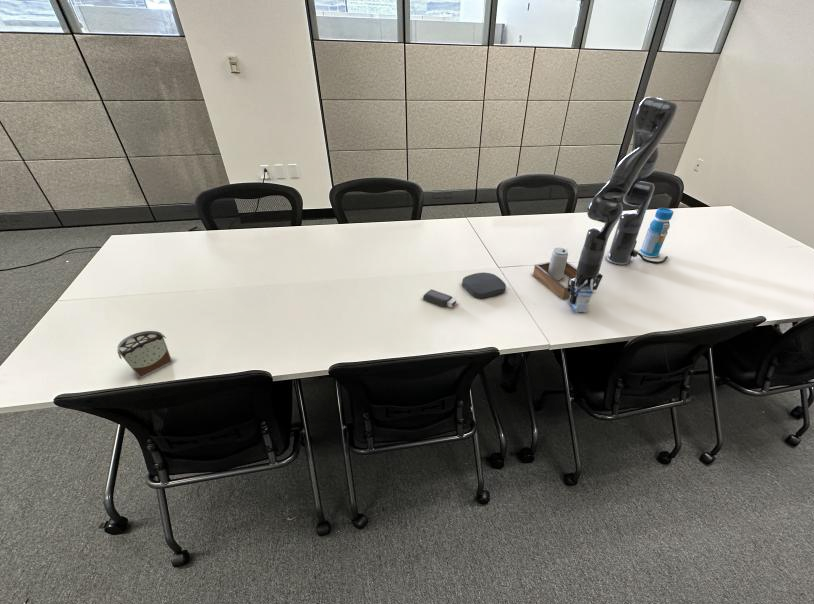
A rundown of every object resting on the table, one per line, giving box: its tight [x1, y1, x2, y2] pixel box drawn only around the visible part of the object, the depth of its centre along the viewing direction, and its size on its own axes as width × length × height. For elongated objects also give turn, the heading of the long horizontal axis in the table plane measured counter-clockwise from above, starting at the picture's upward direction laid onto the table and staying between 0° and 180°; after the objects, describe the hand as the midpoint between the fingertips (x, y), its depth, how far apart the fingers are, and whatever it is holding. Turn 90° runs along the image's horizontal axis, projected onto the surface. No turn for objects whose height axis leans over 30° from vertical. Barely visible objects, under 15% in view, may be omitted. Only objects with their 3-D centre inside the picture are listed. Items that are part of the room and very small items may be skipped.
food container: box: [116, 330, 173, 379], centre depth 119 cm, size 12×6×10 cm, turn 145°
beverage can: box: [548, 247, 569, 281], centre depth 169 cm, size 6×6×12 cm
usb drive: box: [422, 289, 457, 308], centre depth 155 cm, size 5×12×3 cm, turn 59°
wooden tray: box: [532, 261, 577, 300], centre depth 168 cm, size 15×21×5 cm
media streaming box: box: [461, 272, 507, 299], centre depth 163 cm, size 15×15×3 cm
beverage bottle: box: [639, 207, 674, 258], centre depth 187 cm, size 8×8×20 cm
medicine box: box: [568, 285, 593, 313], centre depth 152 cm, size 8×4×9 cm, turn 6°
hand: (578, 301), depth 154 cm, fingers closed on medicine box, 5 cm apart
